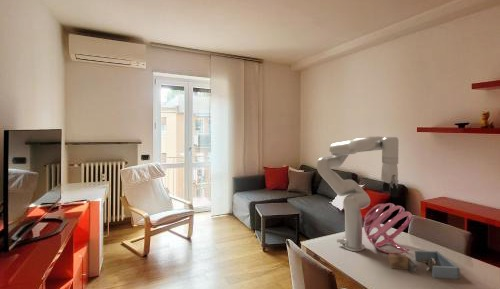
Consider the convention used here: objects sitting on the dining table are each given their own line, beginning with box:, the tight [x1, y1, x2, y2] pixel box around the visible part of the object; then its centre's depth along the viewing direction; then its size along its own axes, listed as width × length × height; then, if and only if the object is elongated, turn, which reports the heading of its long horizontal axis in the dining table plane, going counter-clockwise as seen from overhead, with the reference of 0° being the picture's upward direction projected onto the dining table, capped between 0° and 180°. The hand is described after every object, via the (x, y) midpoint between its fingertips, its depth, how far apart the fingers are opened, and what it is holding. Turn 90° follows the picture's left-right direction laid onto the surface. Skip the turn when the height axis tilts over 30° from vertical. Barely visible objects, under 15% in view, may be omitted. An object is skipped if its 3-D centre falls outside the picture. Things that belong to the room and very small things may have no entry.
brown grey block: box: [388, 253, 417, 274], centre depth 133 cm, size 10×11×6 cm
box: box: [414, 250, 461, 280], centre depth 131 cm, size 11×17×5 cm, turn 173°
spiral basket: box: [363, 202, 414, 255], centre depth 152 cm, size 28×28×27 cm
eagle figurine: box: [420, 257, 437, 272], centre depth 129 cm, size 8×7×9 cm
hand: (389, 193), depth 138 cm, fingers open, 9 cm apart
